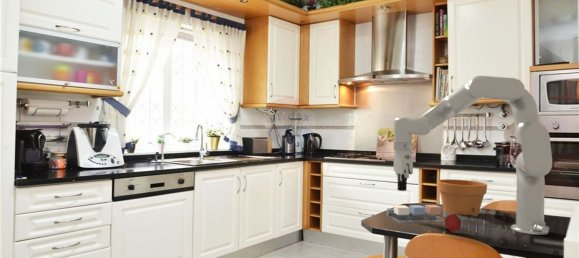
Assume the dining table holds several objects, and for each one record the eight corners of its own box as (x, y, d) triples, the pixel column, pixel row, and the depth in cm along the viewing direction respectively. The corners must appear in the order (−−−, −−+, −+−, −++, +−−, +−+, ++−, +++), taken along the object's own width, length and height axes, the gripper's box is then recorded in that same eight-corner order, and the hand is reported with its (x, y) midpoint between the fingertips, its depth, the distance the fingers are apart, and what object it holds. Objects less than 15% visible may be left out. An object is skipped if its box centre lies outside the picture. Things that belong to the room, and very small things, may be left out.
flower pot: (477, 210, 206) (478, 179, 206) (493, 220, 186) (494, 185, 185) (432, 208, 209) (433, 178, 208) (443, 218, 188) (444, 184, 187)
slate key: (425, 214, 179) (425, 207, 179) (414, 214, 179) (414, 207, 179) (420, 212, 184) (420, 205, 184) (409, 212, 183) (409, 205, 183)
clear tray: (449, 224, 176) (449, 213, 176) (398, 225, 173) (398, 214, 173) (434, 217, 189) (434, 207, 189) (386, 218, 186) (386, 208, 186)
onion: (447, 230, 166) (448, 209, 166) (462, 232, 163) (463, 211, 163) (442, 232, 162) (442, 211, 162) (457, 235, 158) (458, 214, 158)
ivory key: (409, 214, 178) (409, 207, 178) (398, 215, 178) (398, 207, 178) (404, 212, 183) (404, 205, 183) (393, 212, 182) (394, 205, 182)
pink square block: (440, 214, 180) (441, 207, 180) (430, 214, 180) (430, 207, 180) (435, 211, 185) (435, 205, 185) (424, 212, 184) (425, 205, 184)
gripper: (419, 148, 173) (418, 193, 173) (403, 145, 188) (403, 187, 188) (401, 147, 172) (400, 193, 172) (387, 145, 187) (386, 187, 187)
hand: (401, 190), depth 180 cm, fingers closed
